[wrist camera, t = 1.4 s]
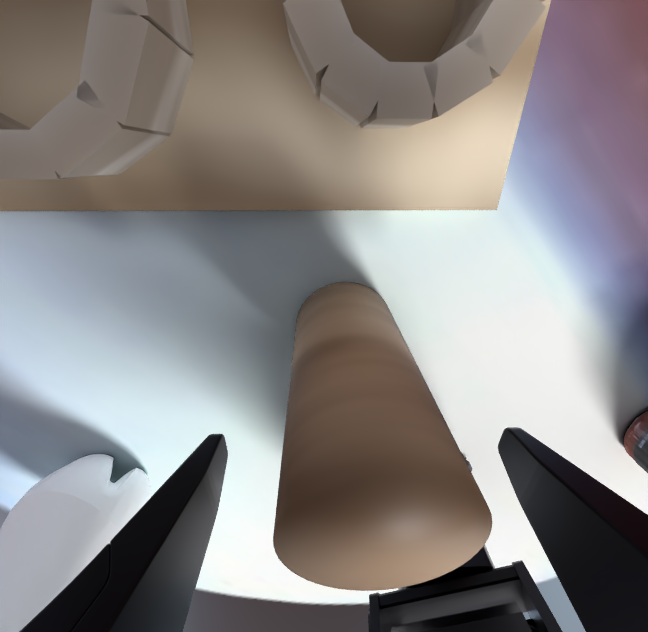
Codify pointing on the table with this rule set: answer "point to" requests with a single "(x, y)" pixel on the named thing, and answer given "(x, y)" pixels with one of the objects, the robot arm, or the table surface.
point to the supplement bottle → (638, 440)
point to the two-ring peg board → (261, 103)
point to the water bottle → (62, 532)
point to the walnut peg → (368, 456)
